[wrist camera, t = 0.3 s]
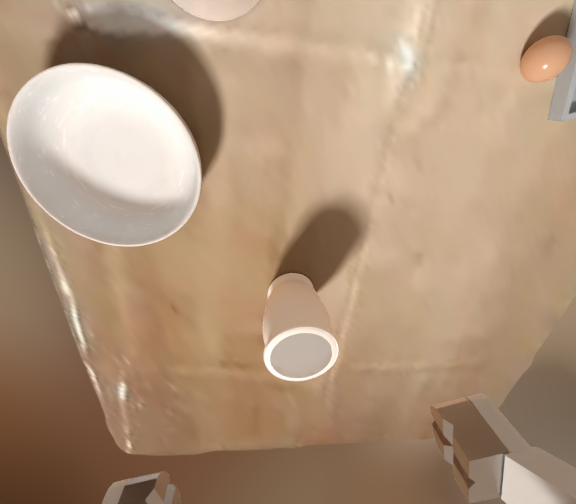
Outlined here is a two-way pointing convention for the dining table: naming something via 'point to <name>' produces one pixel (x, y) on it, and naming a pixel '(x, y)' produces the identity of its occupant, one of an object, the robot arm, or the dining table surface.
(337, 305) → the dining table surface
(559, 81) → the egg tray
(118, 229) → the serving bowl
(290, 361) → the jar
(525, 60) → the brown egg
